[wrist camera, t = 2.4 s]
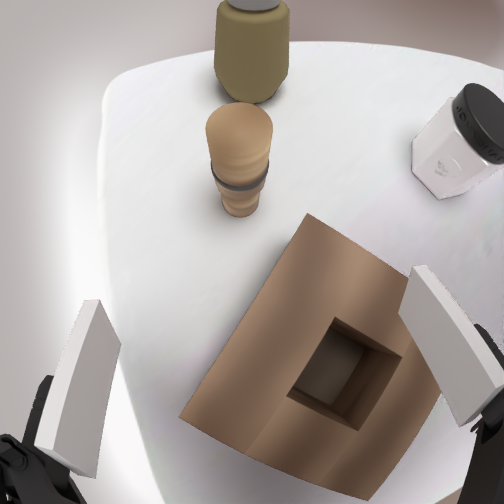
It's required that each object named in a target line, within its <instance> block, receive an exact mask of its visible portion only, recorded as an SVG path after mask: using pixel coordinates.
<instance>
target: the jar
mask: <svg viewBox="0 0 504 504" xmlns="http://www.w3.org/2000/svg"><path fill="white" fill-rule="evenodd" d="M502 167H504V103H503V102H502V101H501V100H500V99H499V98H498V97H497V96H496V95H495V94H494V93H493V92H491V91H490V90H489V89H487V88H485V87H484V86H481V85H479V84H475V83H470V84H467V85H466V86H465V87H464V88H463V89H462V90H461V92H460V93H459V94H458V95H457V96H456V98H452V97H450V98H449V99H448V100H447V101H446V103H445V104H444V105H443V106H442V107H441V108H440V110H439V111H438V112H437V113H436V114H435V116H434V117H433V118H432V119H431V120H430V121H429V123H428V124H427V125H426V126H425V127H424V128H423V130H422V131H421V132H420V133H419V134H418V135H417V136H416V138H415V139H414V140H413V141H412V172H413V173H414V174H415V175H416V176H417V177H418V178H419V179H420V180H421V181H422V183H423V184H424V185H425V186H426V187H427V188H428V189H429V190H430V191H431V192H432V193H433V194H434V195H435V196H436V198H437V199H439V200H441V199H445V198H449V197H453V196H457V195H461V194H464V193H465V192H467V191H468V190H470V189H471V188H473V187H474V186H476V185H477V184H479V183H480V182H482V181H483V180H485V179H486V178H488V177H489V176H491V175H492V174H494V173H495V172H497V171H498V170H500V169H501V168H502Z"/></svg>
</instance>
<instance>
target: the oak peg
mask: <svg viewBox="0 0 504 504" xmlns="http://www.w3.org/2000/svg"><path fill="white" fill-rule="evenodd" d="M272 133H273V124H272V121H271V119H270V117H269V115H268V114H267V113H266V112H265V111H264V110H263V109H261V108H260V107H258V106H256V105H253V104H250V103H243V102H236V103H230V104H227V105H224V106H222V107H220V108H218V109H217V110H215V111H214V112H213V113H212V114H211V116H210V117H209V119H208V121H207V123H206V136H207V142H208V147H209V152H210V157H211V169H212V173H213V176H214V178H215V182H216V186H217V188H218V189H219V191H220V192H221V195H222V201H223V205H224V208H225V210H226V211H227V212H228V213H229V214H231V215H233V216H235V217H246V216H249V215H250V214H252V213H253V212H254V211H255V210H256V208H257V206H258V202H259V195H260V191H261V190H262V188H263V186H264V183H265V178H266V175H267V173H268V168H269V152H270V146H271V139H272Z"/></svg>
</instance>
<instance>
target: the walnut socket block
mask: <svg viewBox="0 0 504 504" xmlns="http://www.w3.org/2000/svg"><path fill="white" fill-rule="evenodd" d="M408 280H409V279H408V278H407V277H405V276H404V275H403V274H401V273H400V272H398V271H397V270H395V269H394V268H392V267H391V266H389V265H388V264H386V263H385V262H383V261H382V260H380V259H379V258H377V257H376V256H374V255H373V254H371V253H370V252H368V251H367V250H365V249H364V248H362V247H361V246H359V245H358V244H356V243H355V242H353V241H351V240H350V239H348V238H347V237H345V236H344V235H342V234H341V233H339V232H337V231H336V230H334V229H333V228H331V227H329V226H328V225H326V224H325V223H323V222H321V221H320V220H318V219H316V218H315V217H313V216H312V215H310V214H308V213H307V214H306V216H305V218H304V219H303V221H302V223H301V224H300V226H299V228H298V229H297V231H296V233H295V234H294V236H293V238H292V239H291V241H290V242H289V244H288V246H287V247H286V249H285V251H284V252H283V254H282V256H281V257H280V259H279V261H278V262H277V264H276V265H275V267H274V269H273V270H272V272H271V274H270V275H269V277H268V278H267V280H266V282H265V283H264V285H263V287H262V288H261V290H260V291H259V293H258V295H257V296H256V298H255V299H254V301H253V303H252V304H251V306H250V307H249V309H248V311H247V312H246V314H245V315H244V317H243V318H242V320H241V322H240V323H239V325H238V326H237V328H236V329H235V331H234V333H233V334H232V336H231V337H230V339H229V340H228V342H227V344H226V345H225V347H224V348H223V350H222V351H221V353H220V354H219V356H218V358H217V359H216V361H215V362H214V364H213V365H212V367H211V368H210V370H209V371H208V373H207V374H206V376H205V378H204V379H203V381H202V382H201V384H200V385H199V387H198V388H197V390H196V391H195V393H194V394H193V396H192V397H191V399H190V400H189V402H188V403H187V405H186V406H185V408H184V409H183V411H182V412H181V414H180V415H179V418H181V419H182V420H184V421H186V422H187V423H189V424H191V425H192V426H194V427H196V428H197V429H199V430H201V431H202V432H204V433H206V434H208V435H209V436H211V437H213V438H215V439H216V440H218V441H220V442H222V443H224V444H226V445H228V446H229V447H231V448H233V449H235V450H237V451H239V452H241V453H243V454H245V455H247V456H249V457H251V458H253V459H255V460H258V461H260V462H262V463H264V464H266V465H268V466H271V467H273V468H275V469H278V470H280V471H282V472H285V473H287V474H289V475H292V476H294V477H297V478H299V479H302V480H305V481H307V482H310V483H313V484H315V485H318V486H321V487H324V488H327V489H330V490H333V491H336V492H339V493H342V494H345V495H349V496H352V497H356V498H359V499H363V500H367V501H368V500H369V499H370V498H371V497H372V496H373V494H374V493H375V492H376V491H377V490H378V488H379V487H380V486H381V485H382V483H383V482H384V481H385V480H386V478H387V477H388V476H389V474H390V473H391V472H392V470H393V469H394V468H395V466H396V465H397V463H398V462H399V461H400V459H401V458H402V456H403V455H404V453H405V452H406V451H407V449H408V448H409V446H410V445H411V443H412V441H413V440H414V438H415V437H416V435H417V434H418V432H419V430H420V429H421V427H422V426H423V424H424V422H425V421H426V419H427V417H428V415H429V414H430V412H431V410H432V408H433V407H434V405H435V403H436V401H437V399H438V397H439V395H440V394H441V392H442V391H441V389H440V387H439V385H438V383H437V381H436V379H435V378H434V376H433V374H432V372H431V370H430V368H429V366H428V364H427V363H426V361H425V359H424V357H423V355H422V353H421V352H420V350H419V348H418V346H417V344H416V343H415V341H414V339H413V337H412V336H411V334H410V332H409V331H408V329H407V327H406V325H405V324H404V322H403V320H402V319H401V317H400V315H399V314H398V312H399V309H400V306H401V303H402V299H403V296H404V293H405V290H406V287H407V283H408Z"/></svg>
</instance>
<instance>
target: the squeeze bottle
mask: <svg viewBox="0 0 504 504" xmlns="http://www.w3.org/2000/svg"><path fill="white" fill-rule="evenodd" d="M288 67H289V8H288V7H287V5H286V4H285V3H284V2H283V1H281V0H225V1H223V2H221V3H220V5H219V7H218V9H217V19H216V36H215V54H214V69H215V73H216V76H217V78H218V79H219V81H220V82H221V84H222V85H223V87H224V89H225V90H226V92H227V93H228V94H229V95H230V96H231V97H232V98H233V99H235V100H237V101H239V102H243V103H250V104H253V103H260V102H263V101H265V100H267V99H269V98H270V97H271V96H272V95H273V94H274V93H275V91H276V90H277V89H278V87H279V86H280V84H281V83H282V82H283V80H284V79H285V78H286V76H287V74H288Z"/></svg>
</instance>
